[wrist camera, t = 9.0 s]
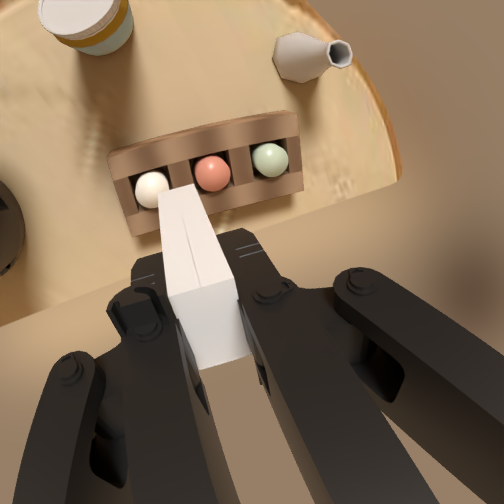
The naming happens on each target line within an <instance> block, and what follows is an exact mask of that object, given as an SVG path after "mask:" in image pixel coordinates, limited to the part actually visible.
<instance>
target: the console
mask: <svg viewBox="0 0 504 504" xmlns="http://www.w3.org/2000/svg"><path fill="white" fill-rule="evenodd" d="M266 141H270V142H272V143H274V144H276V145H278V146H279V147H281V148H283V149H284V150H285V151H286V153H287V155H288V166H287V168H286V170H285V171H284V172H283V173H282V174H280V175H279V176H276V177H267V176H265V175H263V174H262V173H261V172H260V171H259V170H257V169H256V168H255V167H254V166H253V165H252V163H251V156H250V149H251V147H252V146H253V145H254V144H256V143H261V142H266ZM211 153H215V154H217V155H219V156H220V157H221V158H222V159H223V161H224V162H225V163H226V164H227V165H228V167H229V169H230V180H229V182H228V184H227V185H226V186H225V187H224V188H222V189H221V190H218V191H213V192H212V191H207V190H204V189H203V188H202V187H201V186H200V185H199V184H198V181H197V179H196V177H195V175H194V172H193V164H194V161H195V160H196V158H197V157H199V156H203V155H207V154H211ZM107 162H108V165H109V169H110V172H111V175H112V178H113V182H114V185H115V188H116V191H117V194H118V197H119V200H120V203H121V206H122V209H123V212H124V215H125V218H126V221H127V223H128V226H129V229H130V232H131V235H132V237H134V236H138V235H141V234H144V233H148V232H151V231H154V230H158V229H160V220H159V208H158V207H157V208H147V207H144V206H142V205H141V204H140V203H139V202H138V200H137V198H136V195H135V190H136V183H137V178H138V176H139V174H140V173H141V172H144V171H148V170H151V169H155V168H158V169H161V170H162V171H163V172H164V173H165V174H166V176H167V180H168V185H169V190H172V189H175V188H179V187H183V186H186V185H190V184H194V185H195V188H196V190H197V193H198V195H199V197H200V200H201V202H202V204H203V207H204V209H205V212H206V214H207V215H211V214H214V213H218V212H222V211H225V210H229V209H233V208H237V207H241V206H244V205H248V204H252V203H256V202H260V201H264V200H268V199H272V198H276V197H280V196H284V195H288V194H292V193H296V192H300V191H304V184H303V172H302V160H301V149H300V138H299V128H298V119H297V114H295V113H292V112H288V111H284V110H283V111H276V112H270V113H264V114H258V115H252V116H247V117H241V118H236V119H231V120H226V121H221V122H217V123H212V124H208V125H203V126H199V127H195V128H190V129H186V130H182V131H178V132H174V133H171V134H167V135H163V136H159V137H156V138H152V139H149V140H145V141H142V142H139V143H135V144H132V145H129V146H126V147H122V148H119V149H116V150H113V151H111V152H110V154H109V155H108V157H107Z"/></svg>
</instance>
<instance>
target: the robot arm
mask: <svg viewBox="0 0 504 504" xmlns="http://www.w3.org/2000/svg"><path fill="white" fill-rule="evenodd" d="M158 208H159V220H160V231H161V242H162V252H160V253H156V254H153V255H149V256H146V257H143V258H139V259H137V261H136V262H135V264H134V266H133V268H132V269H131V286H130V287H127V288H125V289H123V290H122V291H120V292H119V293H118V294H116V295H115V296H114V297H113V299H112V300H111V301H110V302H109V304H108V307H107V310H106V312H107V314H108V316H109V317H110V319H111V321H112V323H113V324H114V326H115V328H116V330H117V331H118V333H119V335H120V336H121V343H120V344H118V345H117V346H116V347H115V348H113V349H112V350H110V351H108V352H107V353H105V354H103V355H101V356H99V357H97V358H96V359H94V358H93V357H92V356H91V355H89V354H88V353H87V352H83V351H75V352H71V353H68V354H66V355H65V356H63V357H61V358H60V359H59V360H58V361H57V362H56V363H55V364H54V366H53V367H52V369H51V371H50V373H49V376H48V378H47V381H46V384H45V387H44V389H43V392H42V395H41V398H40V401H39V404H38V407H37V410H36V413H35V416H34V419H33V422H32V425H31V429H30V432H29V435H28V439H27V442H26V446H25V450H24V453H23V457H22V461H21V465H20V470H19V474H18V478H17V483H16V487H15V493H14V498H13V503H12V504H240V501H239V499H238V496H237V493H236V490H235V487H234V484H233V481H232V478H231V475H230V472H229V469H228V465H227V462H226V459H225V456H224V453H223V450H222V446H221V443H220V440H219V437H218V433H217V430H216V426H215V423H214V420H213V416H212V412H211V409H210V405H209V401H208V397H207V394H206V390H205V386H204V384H203V382H202V380H201V378H200V376H199V372H198V368H199V370H202V369H205V368H209V367H212V366H215V365H219V364H222V363H226V362H229V361H232V360H235V359H239V358H242V357H245V356H248V355H251V352H252V354H253V356H254V360H255V364H256V368H257V373H258V377H259V381H260V385H262V384H263V386H264V388H265V391H266V393H267V396H268V398H269V400H270V403H271V405H272V408H273V410H274V412H275V415H276V417H277V419H278V421H279V424H280V426H281V429H282V431H283V433H284V436H285V438H286V440H287V443H288V445H289V447H290V449H291V452H292V454H293V456H294V458H295V461H296V463H297V465H298V467H299V469H300V472H301V474H302V476H303V478H304V481H305V483H306V485H307V487H308V489H309V491H310V494H311V496H312V498H313V500H314V502H315V504H439V502H438V501H437V499H436V497H435V496H434V494H433V492H432V491H431V489H430V488H429V486H428V484H427V483H426V481H425V480H424V478H423V476H422V475H421V473H420V472H419V470H418V468H417V467H416V465H415V464H414V462H413V461H412V459H411V457H410V456H409V454H408V453H407V451H406V449H405V448H404V446H403V445H402V443H401V442H400V440H399V439H398V437H397V435H396V434H395V432H394V431H393V430H392V428H391V426H390V425H389V423H388V421H387V420H386V418H385V417H384V415H383V414H382V412H383V413H384V414H385V415H386V416H388V417H389V418H390V419H391V420H392V421H393V422H394V423H395V424H396V425H397V426H399V427H400V428H401V429H402V430H403V431H404V432H405V433H406V434H408V436H410V437H411V438H412V439H413V440H414V441H415V442H416V443H417V444H418V445H420V446H421V447H422V448H423V449H424V450H425V451H426V452H428V453H429V454H430V455H431V456H432V457H433V458H435V460H437V461H438V462H439V463H440V464H441V465H442V466H444V467H445V468H446V469H447V470H448V471H449V472H450V473H452V474H453V475H454V476H455V477H456V478H457V479H458V480H460V481H461V482H462V483H463V484H464V485H465V486H467V487H468V488H469V489H470V490H471V491H472V492H474V493H475V494H476V495H477V496H478V497H479V498H481V499H482V500H483V501H484V502H485V503H487V504H504V356H503V355H502V354H500V353H499V352H498V351H496V350H495V349H493V348H492V347H491V346H489V345H488V344H487V343H485V342H483V341H482V340H481V339H479V338H478V337H477V336H475V335H474V334H472V333H471V332H469V331H468V330H466V329H465V328H464V327H462V326H461V325H459V324H458V323H456V322H455V321H453V320H452V319H450V318H449V317H448V316H446V315H445V314H443V313H442V312H440V311H438V310H437V309H435V308H434V307H433V306H431V305H430V304H428V303H427V302H425V301H424V300H422V299H420V298H419V297H417V296H416V295H414V294H413V293H411V292H410V291H408V290H407V289H405V288H404V287H402V286H400V285H399V284H397V283H395V282H394V281H393V280H391V279H389V278H388V277H386V276H385V275H383V274H381V273H380V272H378V271H375V270H373V269H370V268H363V267H358V268H350V269H348V270H345V271H342V272H341V273H340V274H339V275H338V276H336V278H335V280H334V283H333V287H327V288H316V289H305V288H299V287H298V286H297V285H296V284H295V283H294V282H292V281H291V280H290V279H287V278H285V277H282V276H281V275H280V274H279V272H278V271H277V269H276V268H275V266H274V265H273V263H272V262H271V260H270V259H269V257H268V256H267V254H266V252H265V251H264V250H263V248H262V246H261V245H260V244H259V242H258V240H257V239H256V237H255V236H254V234H253V233H251V232H249V231H247V230H245V229H243V228H240V229H236V230H233V231H229V232H225V233H222V234H218V235H215V233H214V230H213V228H212V226H211V223H210V221H209V219H208V216H207V214H206V212H205V209H204V207H203V204H202V202H201V200H200V197H199V195H198V193H197V190H196V188H195V185H194V184H190V185H186V186H183V187H179V188H175V189H172V190H168V191H165V192H161V193H158ZM24 237H25V228H24V220H23V216H22V212H21V209H20V207H19V205H18V203H17V201H16V199H15V197H14V196H13V194H12V193H11V191H10V190H9V189H8V188H7V187H6V186H5V185H4V184H3V183H2V182H1V181H0V277H1V276H2V275H4V274H5V273H6V272H7V271H9V269H10V268H11V267H12V266H13V265H14V263H15V261H16V260H17V258H18V256H19V254H20V252H21V250H22V247H23V244H24ZM250 349H251V350H250ZM197 366H198V368H197ZM380 410H381V411H382V412H381V411H380Z"/></svg>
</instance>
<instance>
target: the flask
mask: <svg viewBox="0 0 504 504" xmlns="http://www.w3.org/2000/svg"><path fill="white" fill-rule="evenodd" d="M352 57H353V53H352V50H351V48H350V45H349V44H348V43H346V42H343V41H341V40H335V41H332V42H329V43H324V42H322V41H321V40H319V39H317V38H314V37H312V36H309V35H306V34H303V33H300V32H293V33H290V34H287V35H285V36H282V37H279V38H277V41H276V45H275V49H274V54H273V61H274V63H275V65H276V67H277V70H278V72H279V74H280V76H281V78H283V79H287V80H290V81H294V82H298V83H301V84H302V83H304V82H307V81H309V80H312V79H314V78H317V77H319V76H321V75H322V74H323V73H324V72H325V71H326V70H327V69H328V68H329V67H331V66H334V67H337V68H339V69H342V68H345V67H347V66H350V65H351V62H352Z"/></svg>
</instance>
